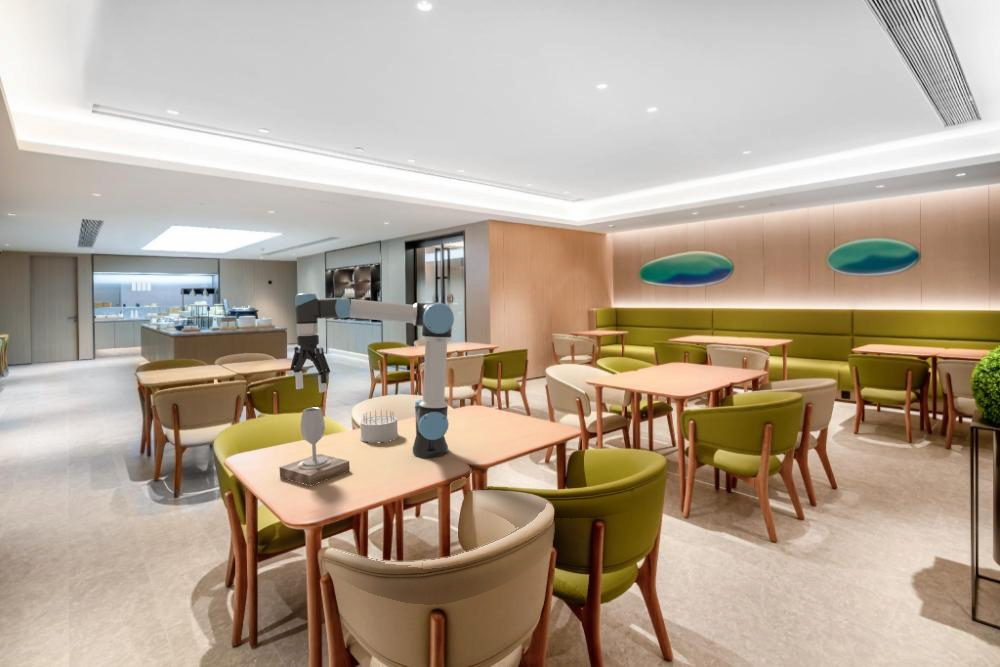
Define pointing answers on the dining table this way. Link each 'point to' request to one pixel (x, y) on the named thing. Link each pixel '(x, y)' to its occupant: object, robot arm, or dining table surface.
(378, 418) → the cake
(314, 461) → the wineglass
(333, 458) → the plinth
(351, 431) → the dining table surface
